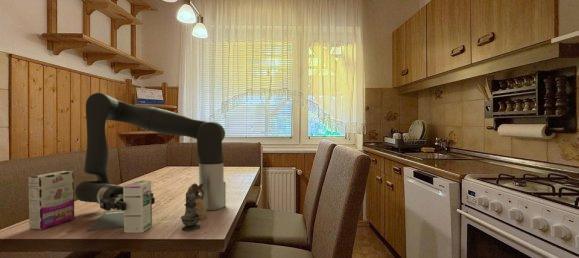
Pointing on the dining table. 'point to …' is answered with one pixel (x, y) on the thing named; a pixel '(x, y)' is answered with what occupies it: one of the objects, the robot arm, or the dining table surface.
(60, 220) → the candy bar box
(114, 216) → the mat
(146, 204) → the syrup box
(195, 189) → the figurine
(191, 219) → the dark grey chess piece
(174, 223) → the dining table surface
